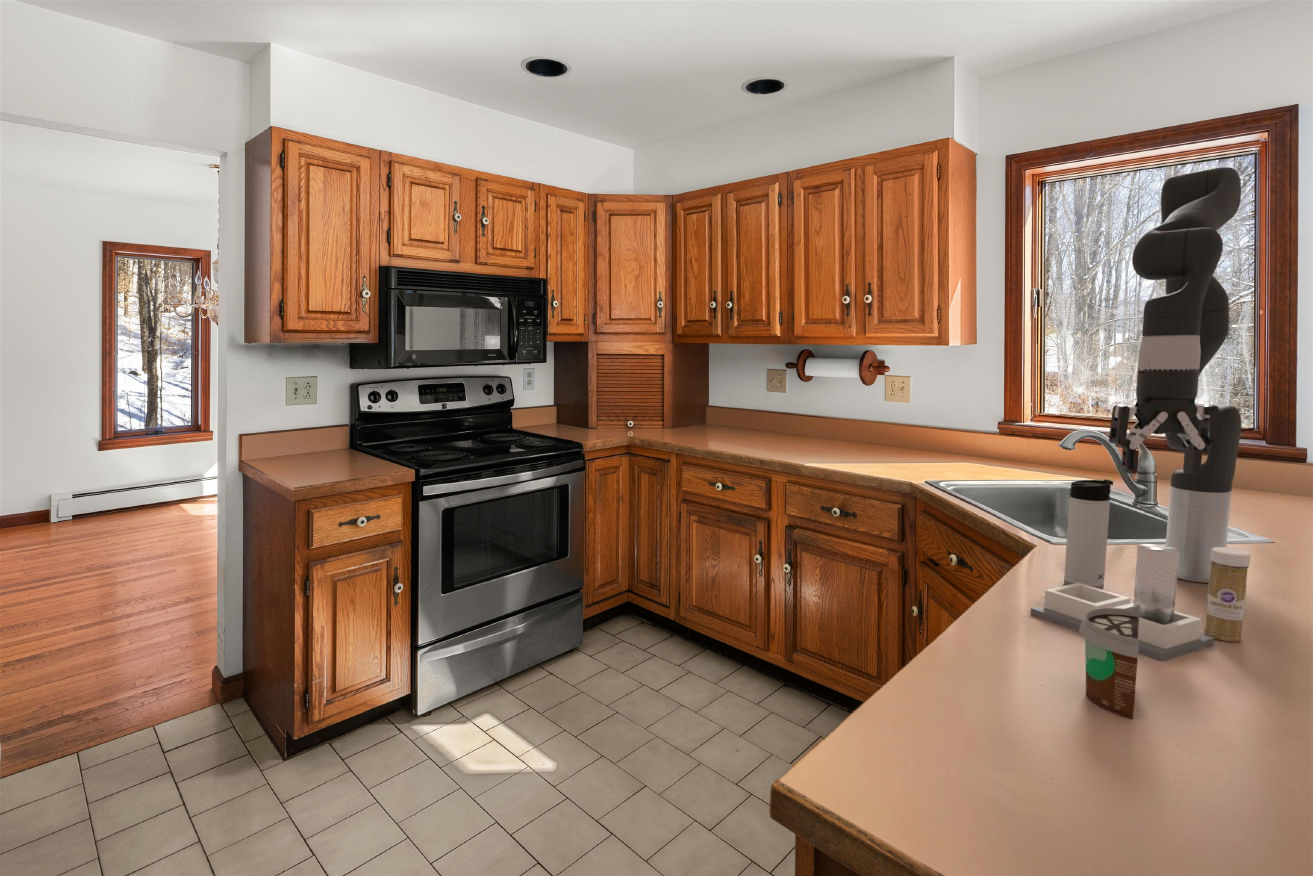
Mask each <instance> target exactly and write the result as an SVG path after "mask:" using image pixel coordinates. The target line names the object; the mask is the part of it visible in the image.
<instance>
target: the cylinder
mask: <svg viewBox="0 0 1313 876" xmlns="http://www.w3.org/2000/svg"><path fill="white" fill-rule="evenodd" d="M1136 553H1137V554H1136V565H1135V566H1136V567H1135V577H1134V578H1135V580H1134V592H1133V593H1134V594H1133V602H1132V603H1133V610H1138V611H1140V616H1139V617H1140V618H1143V619H1146V620H1149V621H1152V622H1156V623H1159V624H1162V625H1166V624H1169V623H1173V621H1174V611H1175V608H1176V599H1177V598H1176V596H1177V584H1178V578H1177V575H1178V563H1179V550H1178V549H1175V548H1172V547H1168V546H1166V545H1163V544H1162V545H1161V544H1156V543H1155V544H1154V543H1151V544H1150V543H1141V544H1138V545H1137V552H1136Z"/></svg>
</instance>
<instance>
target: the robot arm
mask: <svg viewBox="0 0 1313 876" xmlns="http://www.w3.org/2000/svg"><path fill="white" fill-rule="evenodd" d="M1241 182H1242V181H1241V177H1240V174H1239V172H1238V171H1237V169H1235V168H1233V167H1229V166H1221V167H1219V166H1218V167H1213V168H1210V169H1209V168H1207V169H1202V170H1197V171H1193V172H1188V173H1182V174H1176V175H1173V176H1170V177H1168V178H1166V179H1165V180H1164V182H1163V184H1162V186H1161V192H1160V217H1161V224H1160V225H1158V226H1156V227H1153V228H1152V229H1149V230H1148V231H1147V232H1146V233H1144V235H1142V236H1141V237H1140V238H1139V240H1138V241H1137V243H1136V245H1135V246H1134V248H1133V252H1132V257H1131V262H1132V268H1133V270H1134V272H1135V273H1136V275H1138V276H1139V277H1140V278H1142V279H1144V280H1148V281H1161V280H1165V294H1163V295H1159V296H1155V297H1152V298H1150V299H1149V298H1148V300H1147V301H1146V302H1145V304H1144V306H1143V307H1144V308H1143V316H1142V317H1143V319H1142V333H1141V336H1142V337H1141V341H1140V345H1139V350H1138V361H1137V374H1136V387H1135V388H1136V389H1135V395H1136V396H1135V397H1136V403H1135V405H1134V406H1129V405H1122V404H1115V405H1113V406H1112V412H1111V419H1110V426H1109V434H1108V442H1109V443H1110V444H1114V445H1116V446H1119V447H1121V449H1122V451H1121V452H1122V453H1121V454H1122V455H1121V468H1122V469H1124V472H1125V473H1126V474H1132V475H1135V474H1137V473H1138V468H1139V456H1140V455H1139V454H1140V453H1139V451H1140V450H1139V449H1138V448H1139V446H1140V445H1141V444H1142V443H1143V442H1144V440H1146V439H1148V438H1149V437H1151V435H1165V436H1164V437H1165V441H1166V442H1167V445H1168V446H1169V447H1170V448H1171V449H1173V450H1176V451H1182V452H1184V454H1183V464H1182V465H1183V467H1182V469H1177V470H1175V471H1172V473H1171V477H1170V488H1169V489H1170V490H1169V499H1168V501H1169V502H1168V510H1167V511H1168V513H1167V523H1166V525H1167V527H1166V536H1165V546H1168V547H1172V548H1175V549H1178V550H1179V563H1178V575H1177V579H1180V580H1183V581H1188V582H1193V583H1202V584H1203V583H1205V584H1207V583H1208V584H1209V580H1210V572H1211V559H1210V557H1211V550H1212V548H1215V547H1227V545H1228V537H1229V536H1228V533H1229V523H1230V522H1229V521H1230V514H1231V513H1230V512H1231V500H1232V490H1233V482H1234V477H1235V473H1236V465H1237V458H1238V451H1239V446H1240V445H1239V444H1240V439H1241V433H1242V417H1241V416H1242V415H1241V412H1240V411H1239V409H1238V408H1237V407H1235V406H1234V405H1231V404H1230V405H1228V404H1214V403H1213V404H1212V403H1196V398H1197V396H1198V390H1199V377H1200V375H1201V373H1202V372H1203V371H1204V369H1205V368H1206V366H1207V365H1208V363H1210V361H1211V360H1212V359H1213V358H1214V356H1215V355H1216V354H1217V353H1218V352H1219V350H1220V349H1221V347H1222V345H1223V344H1224V342H1225V341H1226V339H1227V337H1228V334H1229V330H1230V299H1229V295H1228V293H1227V291H1226V290H1225V288H1224V286H1222V284H1221V283H1220V282H1219V281H1218V280H1217V278H1216V277H1215V276H1214V273H1215V271H1216V269H1217V267H1218V264H1219V262H1220V260H1221V256H1222V254H1223V249H1224V243H1223V238H1222V237H1221V235H1220V233H1219V232H1218V231H1219V229H1220V228H1222V227H1223V226H1225V224H1226V223H1228V222H1229V221H1230V220H1231V219H1233V218H1234V217H1235V216H1236V214H1237V212H1238V211H1239V209H1240V208H1239V207H1240V204H1241V201H1242V200H1241V199H1242V198H1241V197H1242V183H1241ZM1133 416H1134V417H1135V418H1136V420H1137V421H1136V422H1134V424H1133V425H1132V427H1130V428H1129V430H1128V427H1129V421H1130V420H1131V419H1132V418H1133ZM1203 453H1205V454H1207V456H1206V460H1205V462H1203V463H1202V460H1203V459H1202V458H1203ZM1227 548H1228V547H1227Z"/></svg>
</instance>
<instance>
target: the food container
mask: <svg viewBox="0 0 1313 876" xmlns="http://www.w3.org/2000/svg"><path fill="white" fill-rule="evenodd" d="M1139 616H1140V611H1138V610H1132V609H1122V608H1101V609H1095V610H1091V611H1089V612H1088V613H1087V614H1086V616H1085V617H1084V618H1083V620H1082V623H1081V626H1080V629H1079V631H1078V633H1079V634H1080V636H1082V637H1083V639H1084V640H1085V641H1084V642H1085V647H1084V651H1085V653H1084V655H1085V657H1084V658H1085V696H1086V698H1087V699H1088V700H1089V701H1090V702H1091V703H1092V704H1094V706H1097V707H1099V708H1100V709H1103V710H1104V711H1106V712H1109V713H1112V714H1114V715H1117V716H1119V717H1124V718H1127V719H1131V720H1134V708H1135V697H1136V696H1135V694H1136V685H1137V684H1136V683H1137V671H1138V662H1139V661H1138V659H1139V653H1138V650H1139V639H1138V629H1139Z"/></svg>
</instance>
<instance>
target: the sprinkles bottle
mask: <svg viewBox="0 0 1313 876" xmlns="http://www.w3.org/2000/svg"><path fill="white" fill-rule="evenodd" d="M1210 559H1211V572H1210V580H1209V583H1208V588H1207V598H1206V599H1207V600H1206V608H1205V611H1206V615H1205V626H1204V630H1203V634H1204V635H1206V636H1210V637H1213V638H1214V640H1218V641H1224V642H1231V643H1232V642H1234V643H1235V642H1240V641H1241V640H1242V637H1243V636H1242V629H1243V627H1242V626H1243V620H1244V615H1245V605H1246V604H1245V603H1246V595H1247V578H1248V569H1249V566H1250V564H1251V553H1249V552H1248V551H1246V550H1242V549H1239V548H1233V547H1215V548H1212V550H1211V557H1210Z"/></svg>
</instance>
